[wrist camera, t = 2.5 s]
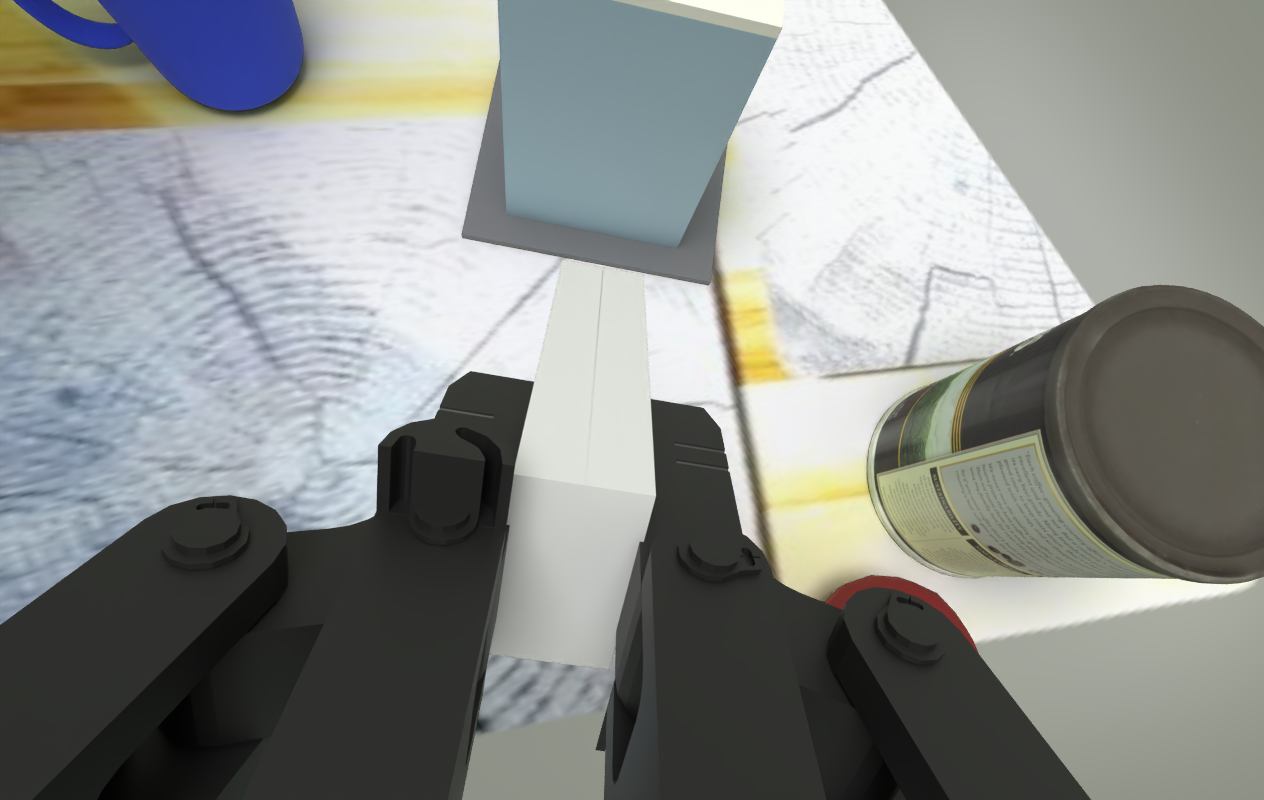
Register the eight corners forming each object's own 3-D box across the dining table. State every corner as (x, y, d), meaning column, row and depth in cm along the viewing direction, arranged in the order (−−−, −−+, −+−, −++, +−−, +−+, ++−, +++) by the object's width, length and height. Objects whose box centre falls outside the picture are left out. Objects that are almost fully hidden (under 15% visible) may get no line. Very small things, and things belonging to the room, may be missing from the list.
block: (676, 248, 38) (782, 27, 23) (506, 214, 37) (496, -40, 22) (687, 165, 39) (795, -98, 24) (523, 130, 38) (525, -167, 23)
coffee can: (856, 380, 38) (1040, 275, 25) (1032, 387, 40) (1297, 290, 26) (872, 581, 36) (1086, 585, 22) (1059, 579, 37) (1366, 583, 24)
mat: (708, 284, 38) (710, 281, 38) (462, 237, 37) (461, 234, 36) (751, -74, 44) (753, -79, 44) (541, -127, 43) (541, -133, 43)
